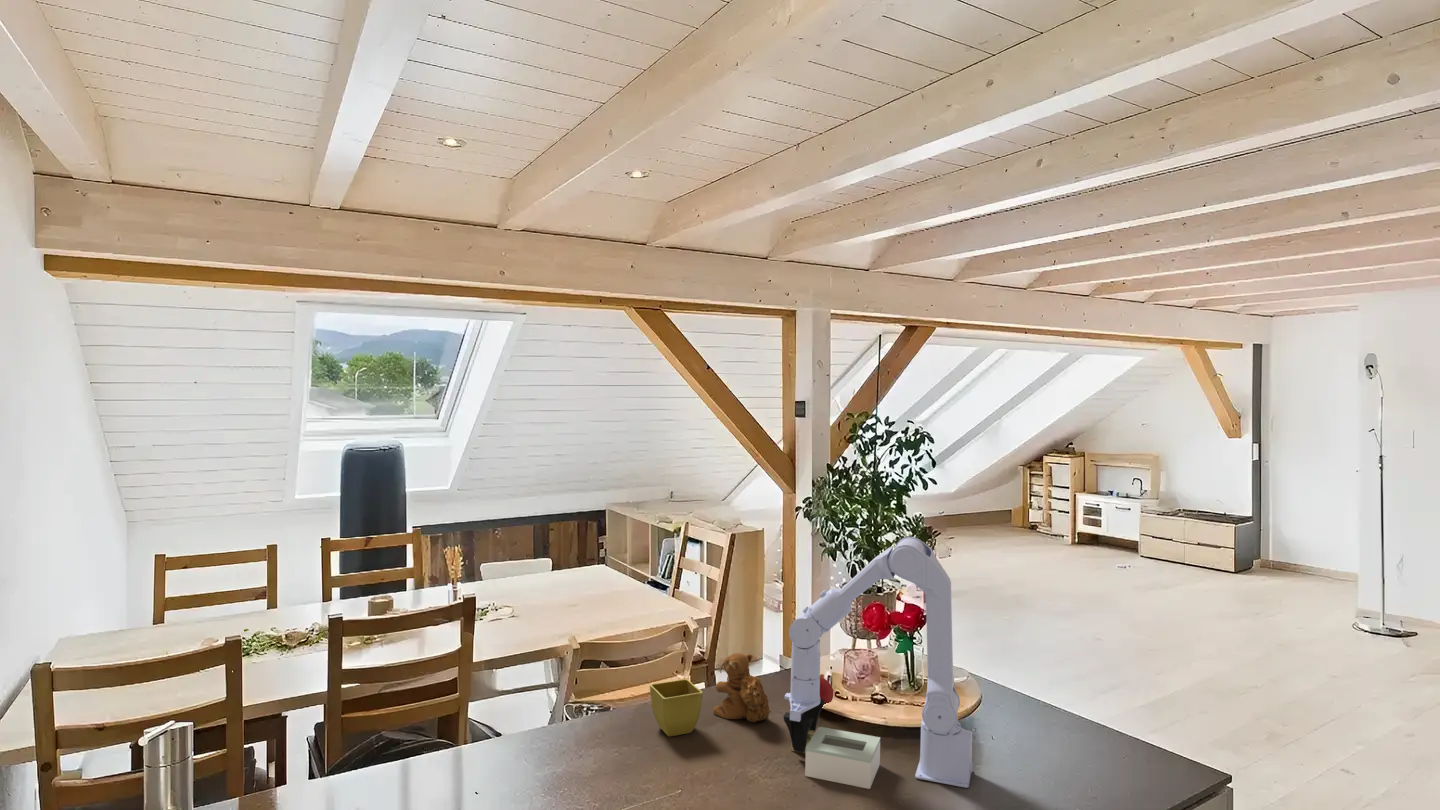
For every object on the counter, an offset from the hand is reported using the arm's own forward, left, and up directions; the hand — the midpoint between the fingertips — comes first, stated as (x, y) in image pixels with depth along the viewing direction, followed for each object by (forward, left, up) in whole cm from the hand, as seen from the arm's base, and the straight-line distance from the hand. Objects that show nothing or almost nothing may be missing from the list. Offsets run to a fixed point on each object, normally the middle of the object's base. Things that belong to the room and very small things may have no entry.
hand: (803, 743), depth 159 cm
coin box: (-9, +5, -1) cm, 10 cm away
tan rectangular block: (0, 0, -2) cm, 2 cm away
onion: (+2, -21, -2) cm, 21 cm away
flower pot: (+27, +2, -2) cm, 27 cm away
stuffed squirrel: (+16, -11, -2) cm, 20 cm away
